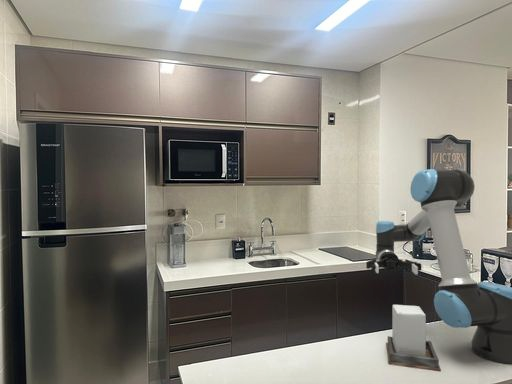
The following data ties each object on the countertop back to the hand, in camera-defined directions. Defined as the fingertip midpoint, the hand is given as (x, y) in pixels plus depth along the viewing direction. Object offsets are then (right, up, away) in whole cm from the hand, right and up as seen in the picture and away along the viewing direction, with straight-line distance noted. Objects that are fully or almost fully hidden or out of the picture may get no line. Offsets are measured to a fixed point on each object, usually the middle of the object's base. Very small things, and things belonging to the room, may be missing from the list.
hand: (396, 270), depth 131 cm
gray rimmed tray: (-1, -26, -13) cm, 29 cm away
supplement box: (-1, -25, -13) cm, 28 cm away
